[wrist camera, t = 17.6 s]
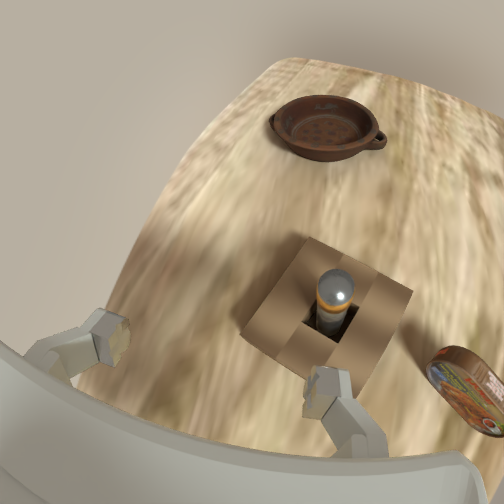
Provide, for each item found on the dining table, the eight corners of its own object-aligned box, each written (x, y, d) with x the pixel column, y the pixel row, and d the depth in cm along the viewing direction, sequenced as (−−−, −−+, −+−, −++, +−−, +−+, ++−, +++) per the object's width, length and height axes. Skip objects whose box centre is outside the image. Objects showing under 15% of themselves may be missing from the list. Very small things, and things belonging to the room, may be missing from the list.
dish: (379, 186, 41) (384, 163, 36) (252, 160, 48) (246, 138, 44) (388, 125, 47) (391, 105, 43) (285, 107, 55) (281, 88, 51)
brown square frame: (346, 404, 27) (351, 405, 24) (247, 341, 33) (239, 334, 30) (403, 302, 31) (413, 291, 28) (310, 252, 37) (309, 236, 34)
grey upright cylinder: (332, 342, 31) (343, 312, 21) (310, 328, 32) (309, 292, 22) (346, 319, 32) (362, 279, 22) (324, 306, 33) (329, 261, 23)
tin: (415, 369, 27) (445, 358, 20) (431, 349, 28) (462, 333, 20) (480, 438, 20) (518, 441, 12) (494, 418, 20) (533, 416, 13)
